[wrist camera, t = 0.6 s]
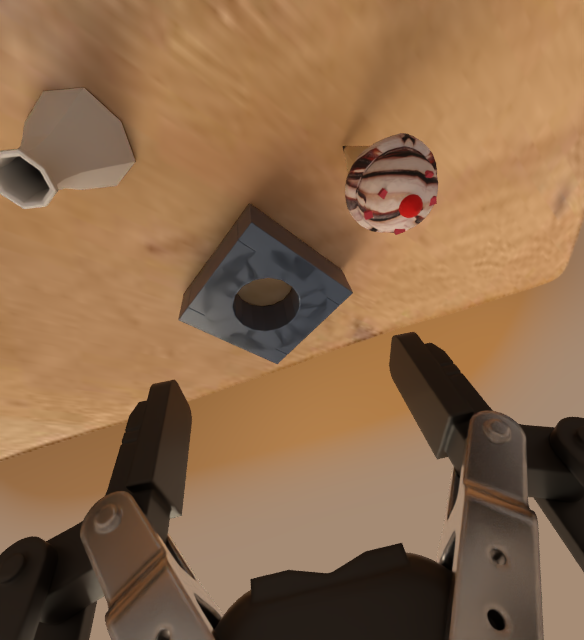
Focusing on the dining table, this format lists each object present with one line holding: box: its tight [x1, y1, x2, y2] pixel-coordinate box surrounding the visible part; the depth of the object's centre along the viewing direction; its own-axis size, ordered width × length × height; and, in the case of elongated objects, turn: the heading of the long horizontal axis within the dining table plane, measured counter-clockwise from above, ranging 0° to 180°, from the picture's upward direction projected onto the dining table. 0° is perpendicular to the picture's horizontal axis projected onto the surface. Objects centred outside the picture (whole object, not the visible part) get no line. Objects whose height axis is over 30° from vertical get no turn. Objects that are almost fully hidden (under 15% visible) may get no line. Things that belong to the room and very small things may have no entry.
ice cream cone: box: [343, 133, 438, 235], centre depth 23 cm, size 6×6×15 cm
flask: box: [0, 88, 136, 209], centre depth 22 cm, size 7×7×10 cm
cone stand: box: [179, 203, 353, 364], centre depth 35 cm, size 13×13×4 cm
